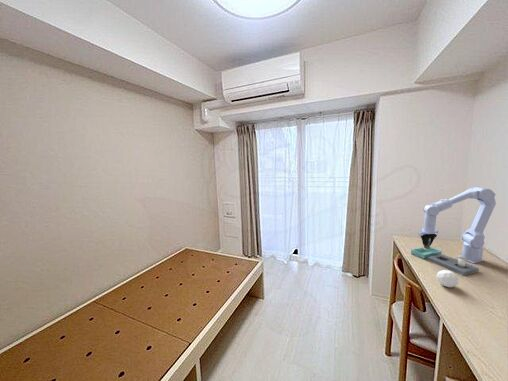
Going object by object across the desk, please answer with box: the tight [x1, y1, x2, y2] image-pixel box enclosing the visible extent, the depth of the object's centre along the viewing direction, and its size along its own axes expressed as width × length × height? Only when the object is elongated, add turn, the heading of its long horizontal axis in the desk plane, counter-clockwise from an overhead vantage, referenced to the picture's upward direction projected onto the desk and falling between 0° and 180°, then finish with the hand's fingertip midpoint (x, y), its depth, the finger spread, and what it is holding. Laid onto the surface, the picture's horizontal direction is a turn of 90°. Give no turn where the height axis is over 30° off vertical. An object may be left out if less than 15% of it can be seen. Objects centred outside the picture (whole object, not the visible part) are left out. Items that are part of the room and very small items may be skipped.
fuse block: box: [426, 253, 479, 276], centre depth 122 cm, size 12×18×2 cm, turn 17°
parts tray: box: [410, 246, 443, 260], centre depth 135 cm, size 15×8×3 cm, turn 107°
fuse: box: [457, 254, 467, 269], centre depth 117 cm, size 3×3×8 cm
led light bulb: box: [423, 238, 431, 251], centre depth 134 cm, size 3×3×8 cm
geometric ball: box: [436, 269, 459, 288], centre depth 103 cm, size 8×8×8 cm
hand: (427, 244), depth 134 cm, fingers closed on led light bulb, 3 cm apart
